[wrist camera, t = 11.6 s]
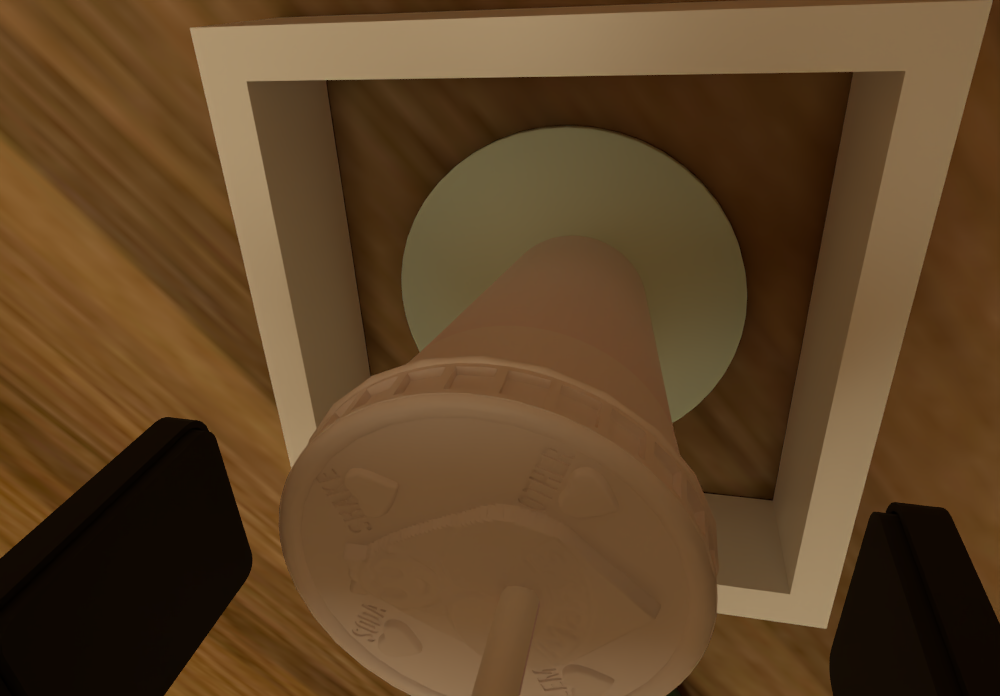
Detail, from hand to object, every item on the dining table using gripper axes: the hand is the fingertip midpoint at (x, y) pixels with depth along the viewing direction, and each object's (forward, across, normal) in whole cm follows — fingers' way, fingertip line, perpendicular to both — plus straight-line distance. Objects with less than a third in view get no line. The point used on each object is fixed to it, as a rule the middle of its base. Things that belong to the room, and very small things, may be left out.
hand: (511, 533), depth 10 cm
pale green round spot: (+9, +1, +1) cm, 9 cm away
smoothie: (+9, 0, +1) cm, 9 cm away
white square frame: (+9, +1, +1) cm, 9 cm away
